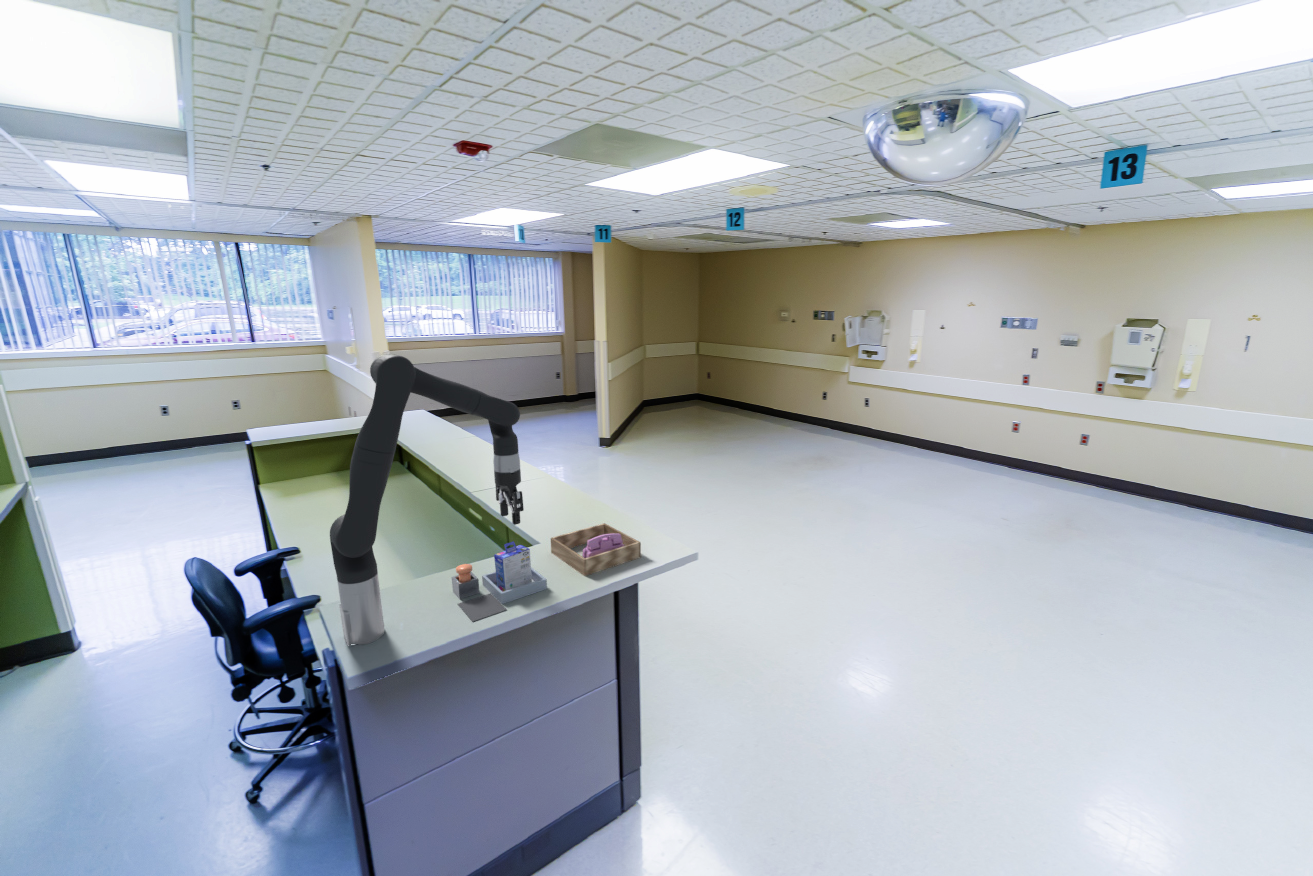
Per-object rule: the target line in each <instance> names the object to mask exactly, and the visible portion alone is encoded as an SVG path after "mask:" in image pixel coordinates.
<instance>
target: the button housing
mask: <svg viewBox="0 0 1313 876" xmlns="http://www.w3.org/2000/svg"><path fill="white" fill-rule="evenodd" d="M470 573H471V580H468V581H464V582H461V583H460V582H459V574H458V575H454V576H451V585H452V586H451V587H452V593H454V595H455V596H456V597H457V599H458V600H462V599H466V598H469V597H473V596H474V595H479V594H480V582H479V580H480V579H479V577H477V576H476V575H475V573H473V572H472V571H471V572H470Z"/></svg>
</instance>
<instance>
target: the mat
mask: <svg viewBox="0 0 1313 876" xmlns="http://www.w3.org/2000/svg"><path fill="white" fill-rule="evenodd" d="M457 606H458V607H459V608H460V609H461V610H462V612H463V613H464V614H465V615H466V616H467V617H468V618H469V620H470V621H471V623H473V622H475V623H476V622H478V621H480V620H483V619H487V618H488V617H492V616H494V615H497V614H501V613H504V612H506V611H508V609H507V608H506V606H504V604H501V603H500V602H499V601H498V600H497V599H496V598H495V597H494V596H493V595H492V594H491V593H490V592H489V593H488V594H483V595H480V596H477V597H475V598H472V599H468V600H465V601H462V602H458V603H457Z"/></svg>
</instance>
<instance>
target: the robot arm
mask: <svg viewBox="0 0 1313 876" xmlns="http://www.w3.org/2000/svg"><path fill="white" fill-rule="evenodd" d="M369 369H370V370H369V373H370V377H371V379H372V381H373V382H374V383H375V390H374V396H373V401H372V404H371V405H372V406H371V409H370V411H369V412H368V415H367V417H366V418H365V420H364V422H363V424H362V426H361V428H360V430H359V432H358V434H357V437H356V439H355V440H356V441H355V443H354V447H353V451H352V455H351V458H350V464H349V482H348V483H349V490H348V491H349V492H348V493H349V494H348V502H347V505H346V506H347V507H346V510H345V513H344V514H343V515H340V516H338V517H337V518H336V519H335V520H334V521H333V522H332V523H331V526H330V528H329V540H330V546H331V547H330V548H331V555H332V560H333V561H332V562H333V566H334V570H335V574H336V580H337V588H338V595H339V601H340V603H339V612H340V619H341V626H342V633H343V637H345V638H344V640H346V641H345V642H347V643H346V645H347V644H348V645H351V644H364V645H368V644H370V643H373V642H375V641H377V640H379V639H380V638H382V636H383V635H384V634H385V622H384V615H383V605H382V597H381V587H380V581H379V580H380V579H379V571H378V563H377V560H376V558H375V554H374V550H373V547H374V544H375V541H376V538H377V532H378V530H377V529H378V523H379V516H380V508H381V504H382V501H383V497H384V494H385V491H386V487H387V484H388V480H389V476H390V471H391V469H392V465H393V461H394V458H395V453H396V450H397V445H398V440H399V436H400V430H401V427H402V420H403V416H404V412H405V408H406V406H407V403H408V401H409V397H410V395H411V393H412V394H415V395H417V396H418V395H419V396H422V397H424V398H427V399H429V400H432V401H434V402H437V403H440V404H442V405H444V406H446V407H448V408H452V409H454V410H457V411H460V412H462V413H464V414H465V413H466V414H468V415H471V416H475V417H479V418H483V419H485V420H487V421H488V425H489V428H490V429H489V430H490V433H491V436H492V446H493V459H492V460H493V475H494V484H495V500H496V501H497V502H498V505H499V509H500V511H499V512H500V516H502V517H506V516H508V515H509V507H510V510H511V520H512V521H511V522H512V525H514V526H516V525H519V524H520V523H521V512H524V499H523V491H518V489H517V486H518V485H519V484H520V483H521V482H522V478H521V477H522V474H521V471H522V470H521V459H520V454H519V440H518V436H517V434H516V433H515V431H514V429H513V426H514V425H516V424H517V423H518V422H519V420H520V418H521V412H520V410H519V407H518V406H517V405H516V404H515V403H513V402H511V401H508V400H505V399H501V398H498V397H495V396H491V395H489V394H487V393H485V392H483V391H481V390H478V389H476V388H473V387H470V386H467V385H465V384H462V383H459V382H456V381H452V380H449V379H446V378H442V377H440V376H436V375H434V374H430V373H429V372H425V371H423V370H421V369H420V368H417V367H415V366H414V364H413V363H412V361H411V360H410V359H409V358H407V357H405V356H402V355H399V354H393V353H388V354H387V353H386V354H382V355H380V356H378V357H376V358H375V359H374V360H373V361H372V363H371V364H370V368H369ZM348 645H347V646H348Z"/></svg>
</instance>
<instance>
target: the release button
mask: <svg viewBox="0 0 1313 876" xmlns="http://www.w3.org/2000/svg"><path fill="white" fill-rule="evenodd" d="M472 571H473V565H472V564H470V563H463V564H459V565H458V566H456V567H455V572H456V574H458V575H459V582H460V583H461V582H464V581H468V580H471V573H470V572H472Z"/></svg>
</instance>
